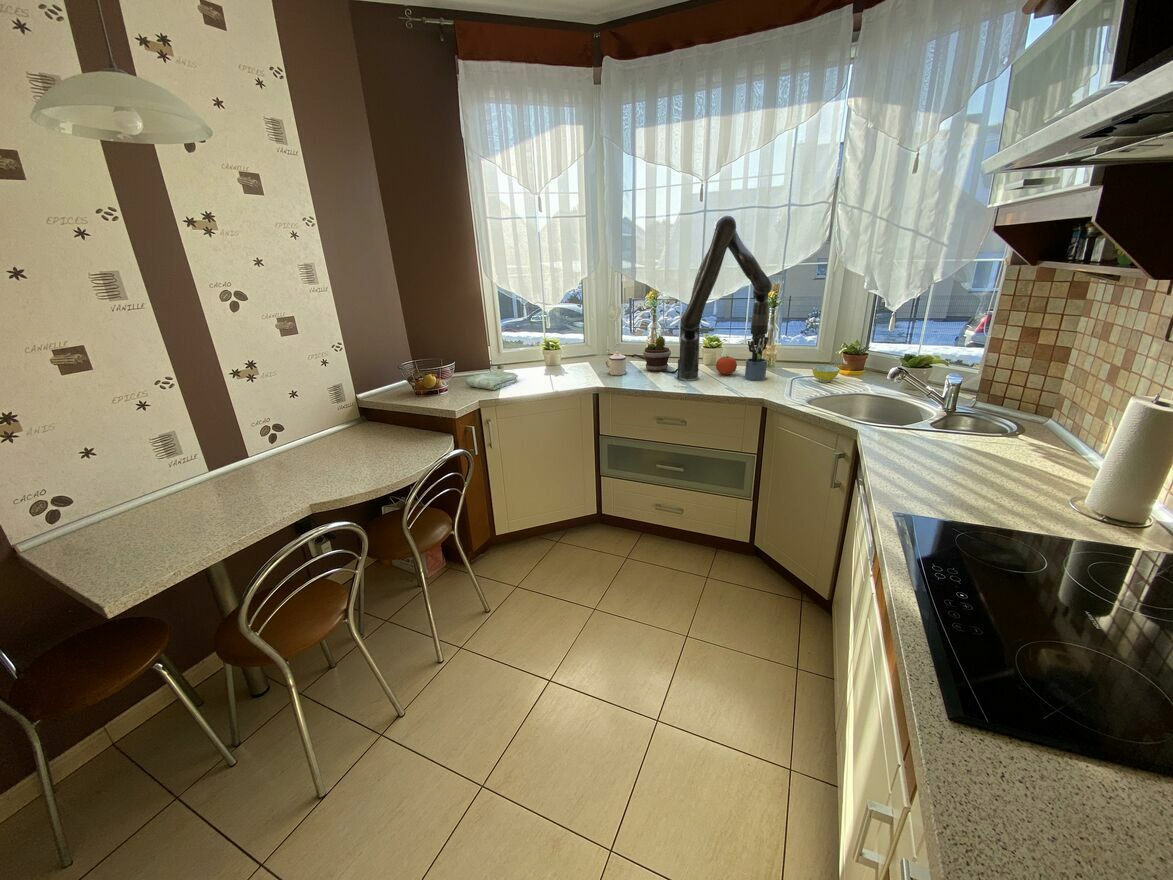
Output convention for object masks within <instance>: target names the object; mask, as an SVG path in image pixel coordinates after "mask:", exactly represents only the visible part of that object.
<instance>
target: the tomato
mask: <svg viewBox="0 0 1173 880" xmlns="http://www.w3.org/2000/svg"><path fill="white" fill-rule="evenodd" d="M737 367H738V362H737V360H736V359H735V358H734V357H732V356H728V355H726V356H721V357H719V358H718V360H716V363H715V368H716V371H717V372H718V373H719V374H721V375H725V376H727V375H731V374H733V373H734V372H736V370H737Z"/></svg>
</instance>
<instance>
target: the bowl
mask: <svg viewBox="0 0 1173 880" xmlns="http://www.w3.org/2000/svg"><path fill="white" fill-rule="evenodd" d="M840 371H841V368H839V367H838V366H835V365H834V366H833V365H815V366H812V374H813V376H814V377H815V378H816V379H817V380H818V382H819V383H830V381H831V380H833V379H835V378H836V377H837V376H838V375H839V373H840Z"/></svg>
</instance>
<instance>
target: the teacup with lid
mask: <svg viewBox="0 0 1173 880" xmlns="http://www.w3.org/2000/svg"><path fill="white" fill-rule="evenodd" d="M608 362H609V363H608ZM605 366H606V368H608V369H609V374H610V376H624V375H626V374H627V356H626V355H624V354H622V353H620V351H615V353H613V354H612V355H610V356H609V357H608V359H606V360H605Z"/></svg>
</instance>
